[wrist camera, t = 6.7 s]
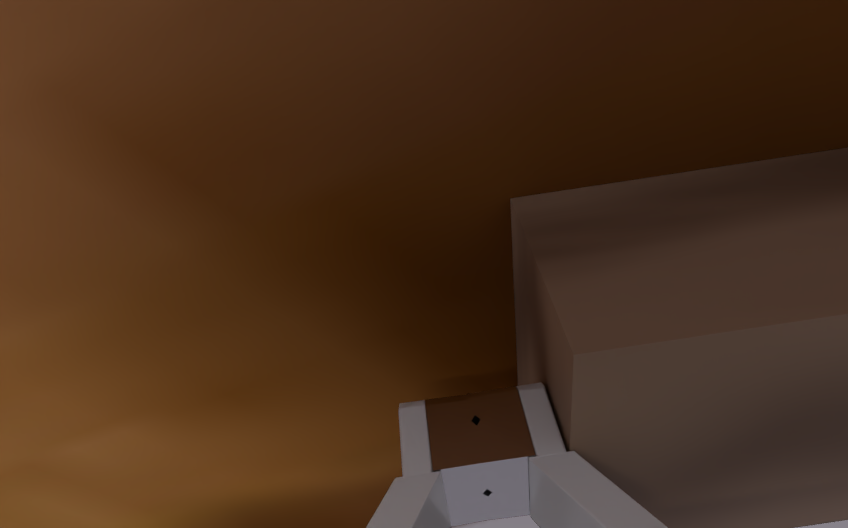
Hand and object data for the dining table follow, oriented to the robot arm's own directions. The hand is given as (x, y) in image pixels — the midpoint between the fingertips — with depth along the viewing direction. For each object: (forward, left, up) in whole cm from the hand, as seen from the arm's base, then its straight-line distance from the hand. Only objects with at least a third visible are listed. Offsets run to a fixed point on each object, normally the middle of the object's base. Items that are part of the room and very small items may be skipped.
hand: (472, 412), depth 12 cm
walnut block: (0, +6, -3) cm, 7 cm away
